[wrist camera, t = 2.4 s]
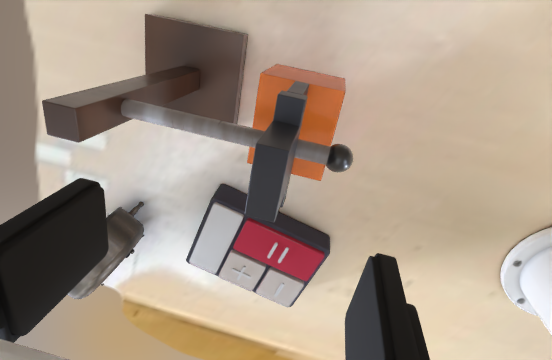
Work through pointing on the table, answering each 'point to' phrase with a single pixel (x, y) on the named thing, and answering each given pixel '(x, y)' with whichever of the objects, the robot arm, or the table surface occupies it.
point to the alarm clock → (112, 249)
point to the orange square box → (289, 132)
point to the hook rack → (178, 92)
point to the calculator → (257, 249)
